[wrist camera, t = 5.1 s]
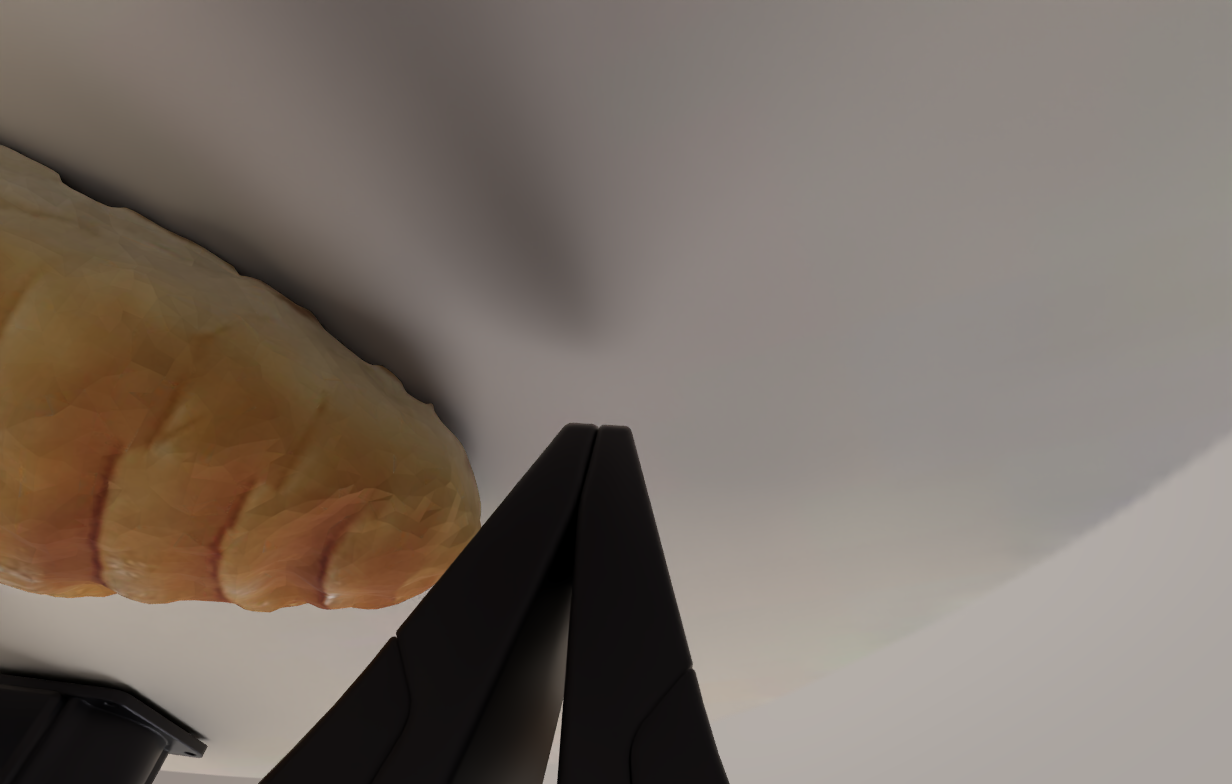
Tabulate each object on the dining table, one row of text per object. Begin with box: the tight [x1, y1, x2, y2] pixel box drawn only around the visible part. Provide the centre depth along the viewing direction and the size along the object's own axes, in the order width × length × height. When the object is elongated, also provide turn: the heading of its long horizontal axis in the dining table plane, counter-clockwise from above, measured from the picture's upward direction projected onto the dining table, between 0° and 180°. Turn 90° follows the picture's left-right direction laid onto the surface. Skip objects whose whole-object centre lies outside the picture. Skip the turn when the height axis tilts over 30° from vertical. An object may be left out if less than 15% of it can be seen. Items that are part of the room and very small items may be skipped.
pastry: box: [0, 145, 481, 612], centre depth 10 cm, size 9×7×4 cm
